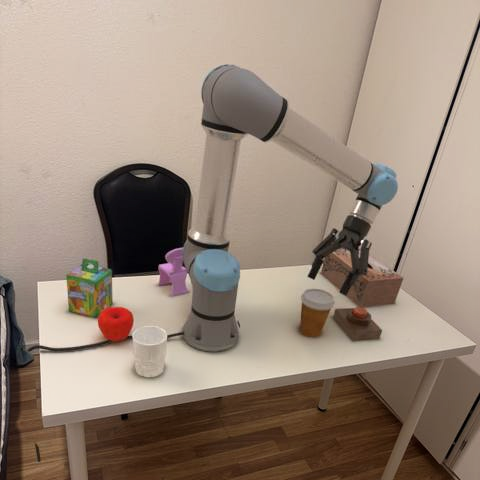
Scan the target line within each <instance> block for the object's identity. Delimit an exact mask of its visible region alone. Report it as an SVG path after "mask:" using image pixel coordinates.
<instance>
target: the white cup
mask: <svg viewBox="0 0 480 480" xmlns="http://www.w3.org/2000/svg"><path fill="white" fill-rule="evenodd" d="M167 335H168V333H167V331H166V330H165V329H164V328H161V326H157V325H145V326H140V327H138V328H136V329H135V330H133V332H132V335H131V336H132V337H133V339H132V350H133V361H134V369H135V373H137V375H139V376H141V377H142V378H143V377H144V378H155V377H158V376H160V375H161V374H162V373H163V372H164V370H165V369H164V368H165V361H166V353H167V343H168V338H167Z"/></svg>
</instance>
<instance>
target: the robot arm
mask: <svg viewBox="0 0 480 480" xmlns="http://www.w3.org/2000/svg"><path fill="white" fill-rule="evenodd" d="M200 92H201V93H200V95H201V101H202V103H203V106H202V114H201V122H200V126H201V127H202V129H203V130H204V132H205V142H204V150H203V157H202V166H201V174H200V181H199V190H198V196H197V204H196V212H195V213H196V214H195V219H194V225H193V227H191V228H190V229H189V230H188V232H187V238H186V241H185V242H184V245H183V247H182V248H183V262H182V263H183V265H184V267H185V268H186V269H187V275H188V276H189V280H190V283H191V288H192V289H191V290H192V291H191V292H192V293H191V304H190V305H191V306H190V308H191V309H190V311H189V313H188V315H187V317H186V320H185V322H184V324H183V328H182V331H180V332H174V333H171V334H167V339H170V338H175V337H180V336H182V338H183V340H184V341H185V343H186V344H188V345H189V346H190V347H192V348H194V349H197V350H199V351H203V352H208V353H217V352H224V351H227V350H230V349H232V348H233V347H234V346H236V344H237V343H238V340H239V329H240V328H241V324H240V322H239V320H237V319H236V315H235V311H236V306H237V305H236V304H237V297H238V289H239V284H240V283H239V282H240V278H241V265H240V261H239V260H238V258H237V257H236V256H235V255H233V254H232V253H229V249H230V248H229V247H230V241H231V237H230V235H229V234H228V233H227V226H228V221H229V215H230V208H231V202H232V197H233V190H234V184H235V178H236V173H237V167H238V161H239V155H240V148H241V143H242V140H243V139H244V138H246V137H247V136H248V135H250V136H252V137H255V138H256V139H258V140H260V141H261V142H263V143H269V142H273V143H274V144H276V145H277V146H279V147H280V148H281V149H284V150H285V151H287V152H289V153H290V154H292V155H294V156H295V157H297V158H299V159H300V160H302V161H304V162H305V163H307V164H309V166H311V167H314V168H315V169H317V170H319V171H320V172H322V173H323V174H325V175H327V176H328V177H330V178H331V179H333V180H335V181H336V182H338V183H340V184H341V185H343V186H345V187H346V188H348V189H350V190H352V192H354V193H356V194H357V196H356V198H355V200H354V202H353V203H352V206H351V208H350V210H349V214H348V215H347V216H346V218H345V219H344V221H343V223H342V228H341V230H339V229H337V228H335V227H334V228H332V229H331V231H330V233H329V234H328V235H327V236H326V237H325V238H324V239H323V240H321V242H320V243H318V244H317V246H315V248H314V249H313V250H312V254H314V256H315V257H314V259H313V261H312V263H311V268H310V270H309V272H308V273H307V278H309V279H311V280H313V281H315V279H316V277H317V276H318V273H319V272H320V271H321V270H320V269H322V266H323V262H324V258H325V257H326V256H328V255H329V254H331V253H333V252H334V251H336V250H337V249H341V248H343V249H346V250H348V251H350V254H351V262H352V270H353V272H352V271H351V272H352V273H351V272H349V274H348V276H347V278H346V280H345V282H344V284H343V286H342V288H341V289H339V292H338V293H339V294H341V295H343V296H346V297H347V293H348V291H349V290H350V288H351V286H353V285H354V284H355V282H356V280H357V279H358V277H359V276H360V275H364V276H366V275H367V269H368V258H369V254H370V249H371V247H372V244H373V243H372V242H371V241H370V240H368V239H367V238H366V237H367V236H368V234H369V232H370V231H371V228H372V224H374V222H375V220H376V219H377V217H378V215H379V213H380V211H381V209H382V207H383V206H384V205H387V204H388V203H390V202H391V201H392V200H394V198H395V196H396V195H397V193H398V188H399V184H398V181H397V173H396V172H395V170H394V169H392V168H390V167H388V166H387V165H384V164H381V163H375V164H373V163H372V162H370V161H369V160H368V159H367V158H365V157H363V156H362V155H360V154H358V152H356V151H354V150H353V149H352V148H350V147H348V146H347V145H345V143H343V142H342V141H340V140H338V139H336V138H335V137H333V136H332V135H330V134H329V133H328V132H326V131H325V130H323V129H322V128H320V127H318V126H317V125H316V124H314V123H313V122H311V121H309V120H308V119H306V118H305V116H302V115H301V114H299V113H298V112H296V111H295V110H293V109H292V108H290V103H289V100H288V99H286V98H285V97H283V96H282V95H281V94H279V93H278V92H277V91H275V90H274V89H273V88H272V87H271V86H269V85H268V84H267V83H266V82H265V81H264V80H263V79H262V78H260V77H259V76H258V75H257V74H256V73H255V72H253V71H251V70H249V69H246V68H244V67H243V68H242V67H240V66H237V65H235V64H222V65H218V66H216V67H214V68H213V69H211V70H210V71H209V72H208V73H207V74H206V76H205V77H204V79H203V81H202V84H201V91H200ZM365 238H366V239H365ZM359 247H360V248H361V252H360V261H359ZM124 340H133V337H132V335H128V336H127V337H126V338H125V339H124ZM114 342H115V341H110V340H107V339H106V340H103V341H99V342H96V343H90V344H84V345H83V344H82V345H78V346H69V347H51V346H46V345H40V344H37V345H33V346H30V347H29V348H28V349H27V351H26V352H28V353H29V352H32V351H33V350H37V349H39V350H45V351H49V352H69V351H77V350H85V349H90V348H96V347H100V346H104V345H107V344H111V343H114ZM34 447H35V453H36V458H37V462H38V463H40V462H42V459H41V454H40V448H39V445H38V444H37V443H36V442H35V441H34Z"/></svg>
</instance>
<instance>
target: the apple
mask: <svg viewBox="0 0 480 480" xmlns="http://www.w3.org/2000/svg"><path fill="white" fill-rule="evenodd" d="M134 321H135V319H134V314H133V312H132V311H131V310H130V309H128V308H125V307H122V306H110V307H109V308H106V309H104V310H103V311H102V312H101V313H100V315H99V317H98V318H97V326H98V329H99V331H100V332H101V334H102V336H103V337H104V338H105V339H106V340H110V341H114V342H120V341H124V340H126V339H125V338H126V337H127V336H130V334H131V332H132V329H133V327H134Z"/></svg>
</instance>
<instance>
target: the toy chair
mask: <svg viewBox="0 0 480 480" xmlns="http://www.w3.org/2000/svg"><path fill="white" fill-rule="evenodd" d="M164 258H165V259H164V260H166V262H167V263H162V264H158V270H157V271H158V273H159V279H158V283H157V286H162V285H167V284H171V285H172V289H171V293H170V297H174V296H177V295H178V296H179V295H182V294H186V293H189V290H188V288H187V285H186V282H187V281H186V280H187V276H188V271H187V269H186V267H185V266H183V263H184V262H183V247H179V248H178V247H177V248H174V249H172V250H170V251H168V252H167V253H165V255H164Z"/></svg>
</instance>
